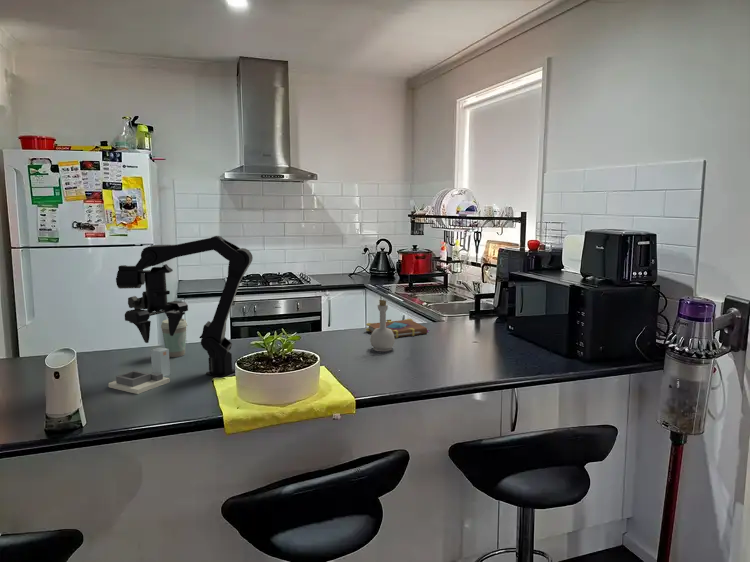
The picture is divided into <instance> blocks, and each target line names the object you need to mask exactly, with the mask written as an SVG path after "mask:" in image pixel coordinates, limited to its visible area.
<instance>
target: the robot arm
mask: <svg viewBox="0 0 750 562" xmlns="http://www.w3.org/2000/svg"><path fill="white" fill-rule="evenodd" d="M210 251H215V253H216V252H217V253H218V254H219V255H221V256H222V257H223V258H224V259H225V260H227V261H229V262H228V267H227V278H226V281H225V283H224V287H223V290H222V292H221V296H220V298H219V300H218V304H217V307H216V310H215V313H214V315H213V317H212V320H211V321H209V320H208V321H207V322H205V324H204V325H203V328H202V333H201V335H200V336H199V339H200V345H201V347H202V349H204V351H206V352H207V355H208V370H209V371H206V373H205V375H208V376H214V377H218V378H223V377H225V376H228V375H230V374H233V373H236V372H235V370H236V369H233V357H232V353H231V352H230V351H231V349H232V346H233V343H232V341H230V340H229V339H228V338H226V337H225V336H226V332H227V331H226V330H227V321H228V319H229V315H230V312H231V309H232V307H233V303H234V301H235V298H236V294H237V292H238V289H239V286H240V283H241V280H242V279H243V277H244V276H245V275H246V272H247V271H248V269H249V267H250V266H251V263H252V261H253V254H252V252H251V251H250V250H249V249H247V248H246V247H245V248H243V247H242V248H240V247H239V246H237V245H235V244H234V243H232V242H231V241H228V240H226V239H224V238H223V237H222V236H220V235H215V236H211V237H209V238H203V239H197V240H192V241H188V242H184V243H179V244H155V245H154V244H153V245H150V246H146V247H144V248H143V249H142V250H141V252H140V258H139V260H138V262H137V263H136V264H135V265H124V264H123V265H121V264H120V265H118V266H117V267H118V270H117V272H116V277H115V282H116V286H117V288H118V289H141V288H142V286H144V285H145V291H142V297H138V296H135V295H133V296H130V297H128V298H127V304H128V305H127V306H128V308H130V310H126V311H125V313H124V321H125V322H129V323H130V324H133V325H134V326H135V327H136V328H137V329H138V331H139V333H140V335H141V338H142V340H143V342H144V343H146V344H148V343H149V341H150V334H151V332H150V331H151V323H152V322H151V320H149V319H150V318H151V316H155V315H159V314H160V315H161V314H165V316H166V318H167V319H168V324H169V333H170V336H173V335H174V333H175V331H176V328H177V326H178V324H179V322H180V320H181V319H183V316H184V315H186V312H187V311H189V305H188V303H187V302H186V301H182V300H181V301H179V300H172V301H169V302H168V295H170V294H171V292H170V290H167V279H166V278H167V275H166V274H170V273H172V272H174V271H173V268H171V267H170V266H169V265H168V263H167V264H163V263H165V262H168V261H171V260H173V259H175V258H180V257H184V256H185V257H186V256H191V255H195V254H200V253H204V252H210ZM161 264H163V265H162V266H158V265H161ZM148 268H151V269H150V270H149V269H148ZM146 269H148V270H146Z"/></svg>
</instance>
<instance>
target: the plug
mask: <svg viewBox="0 0 750 562" xmlns="http://www.w3.org/2000/svg"><path fill="white" fill-rule="evenodd" d="M150 360H151V372H152V373H155V372H156V373H161V374H163V377H167V376H170V375H171V365H170V364H171V363H170V357H169V349H166V348H165V347H156V348H153V349H150ZM152 373H151V374H152Z"/></svg>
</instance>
